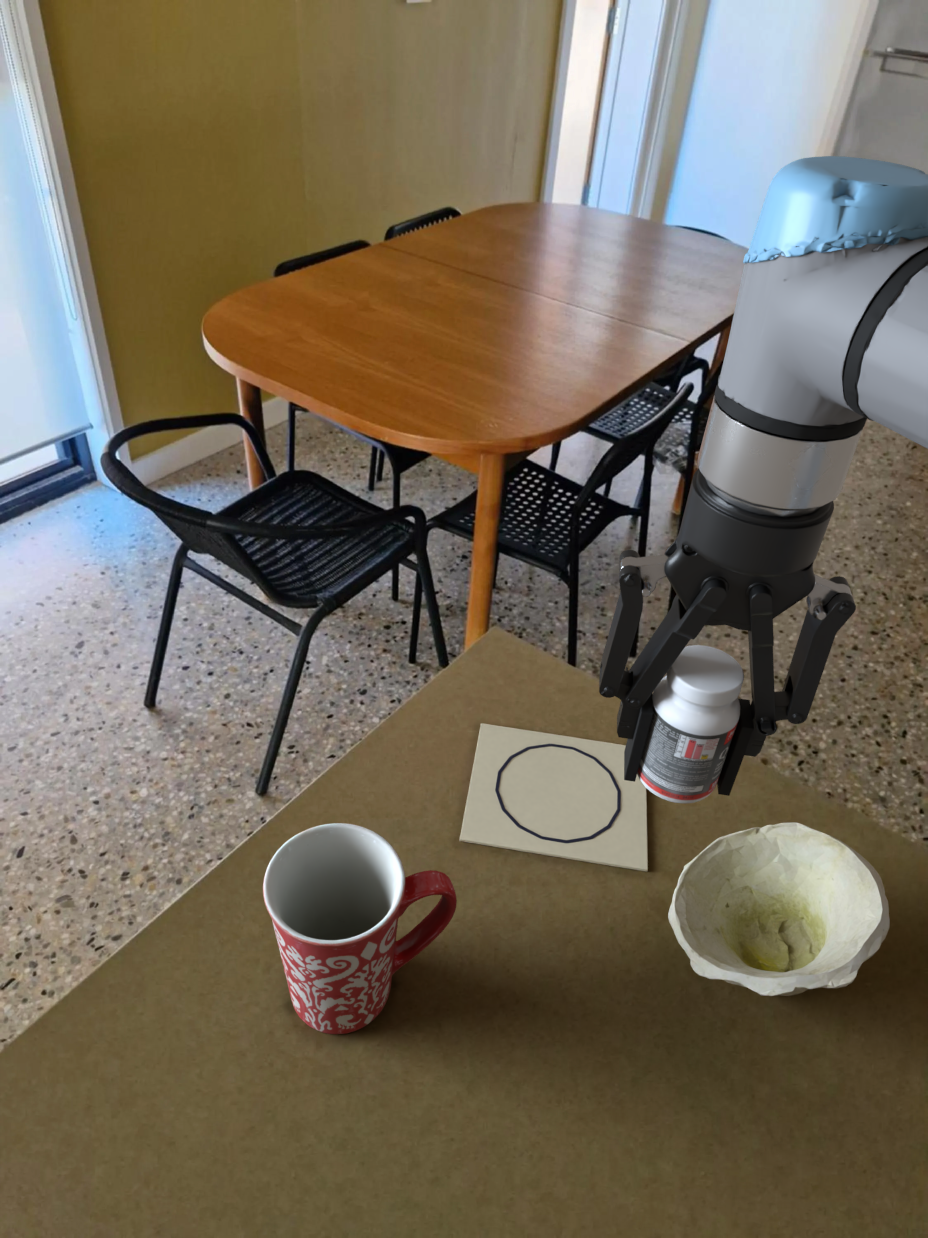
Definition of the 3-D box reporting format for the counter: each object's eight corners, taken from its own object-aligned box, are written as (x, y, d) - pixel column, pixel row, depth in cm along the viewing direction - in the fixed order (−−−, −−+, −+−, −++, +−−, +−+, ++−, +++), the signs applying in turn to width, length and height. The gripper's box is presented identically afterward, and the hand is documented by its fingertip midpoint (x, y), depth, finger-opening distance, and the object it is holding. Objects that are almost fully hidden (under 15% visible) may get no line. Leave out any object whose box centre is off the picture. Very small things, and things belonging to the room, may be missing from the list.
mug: (278, 1059, 61) (263, 953, 52) (274, 940, 67) (261, 829, 59) (459, 1031, 63) (473, 926, 55) (438, 919, 70) (448, 809, 61)
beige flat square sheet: (647, 872, 75) (647, 869, 74) (459, 841, 76) (459, 838, 76) (645, 750, 85) (645, 747, 85) (480, 725, 87) (481, 722, 86)
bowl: (673, 851, 76) (701, 774, 70) (842, 901, 74) (886, 825, 67) (647, 1010, 65) (677, 935, 59) (844, 1077, 62) (898, 1005, 56)
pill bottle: (724, 808, 60) (763, 701, 54) (641, 805, 60) (671, 697, 54) (705, 747, 65) (739, 641, 58) (628, 743, 64) (654, 637, 58)
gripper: (925, 470, 50) (803, 754, 64) (593, 430, 51) (546, 716, 66) (965, 542, 44) (821, 837, 58) (588, 494, 45) (538, 794, 60)
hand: (675, 772), depth 62 cm, fingers closed on pill bottle, 6 cm apart
